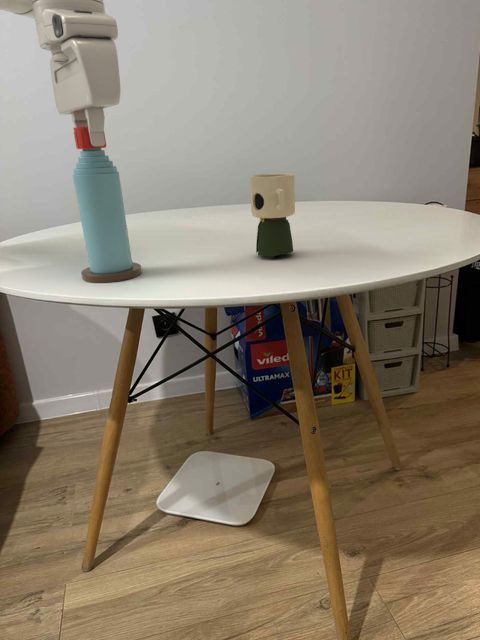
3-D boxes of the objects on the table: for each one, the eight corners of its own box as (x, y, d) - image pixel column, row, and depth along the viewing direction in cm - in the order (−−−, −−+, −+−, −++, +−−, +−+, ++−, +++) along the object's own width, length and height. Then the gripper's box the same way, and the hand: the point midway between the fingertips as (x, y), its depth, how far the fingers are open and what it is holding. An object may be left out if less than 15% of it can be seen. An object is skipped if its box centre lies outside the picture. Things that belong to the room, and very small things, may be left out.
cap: (81, 149, 68) (77, 127, 67) (74, 149, 71) (70, 128, 70) (109, 147, 70) (106, 126, 69) (101, 147, 73) (98, 127, 72)
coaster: (72, 276, 78) (70, 270, 78) (123, 265, 84) (122, 259, 83) (99, 286, 72) (98, 279, 72) (153, 273, 78) (152, 266, 77)
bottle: (82, 269, 78) (56, 133, 70) (119, 261, 82) (98, 131, 74) (103, 275, 74) (77, 131, 66) (140, 267, 78) (121, 129, 70)
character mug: (247, 251, 89) (242, 174, 84) (285, 247, 91) (283, 171, 86) (263, 265, 79) (258, 178, 74) (305, 260, 81) (304, 175, 76)
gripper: (33, 45, 72) (53, 148, 77) (66, 13, 56) (89, 147, 61) (77, 46, 75) (94, 146, 80) (121, 17, 59) (138, 144, 64)
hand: (92, 146), depth 71 cm, fingers closed on cap, 4 cm apart
